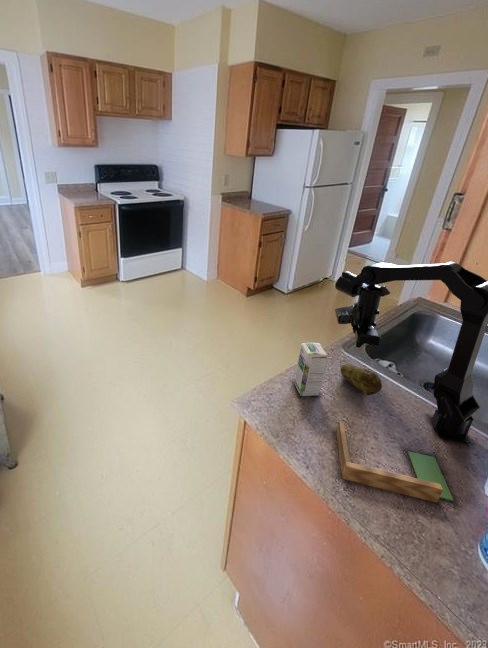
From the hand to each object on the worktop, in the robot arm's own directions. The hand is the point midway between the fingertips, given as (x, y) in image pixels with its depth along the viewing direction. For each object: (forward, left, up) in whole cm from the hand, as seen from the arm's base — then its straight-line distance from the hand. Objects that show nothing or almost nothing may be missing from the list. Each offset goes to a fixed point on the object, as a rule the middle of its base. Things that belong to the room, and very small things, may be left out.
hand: (357, 346), depth 102 cm
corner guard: (-1, +35, -8) cm, 36 cm away
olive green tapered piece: (0, +10, -8) cm, 13 cm away
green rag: (-10, +35, -8) cm, 37 cm away
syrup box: (+15, +15, -8) cm, 23 cm away
